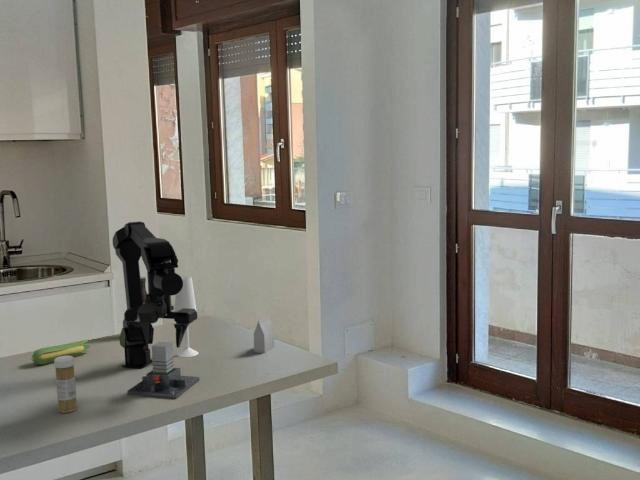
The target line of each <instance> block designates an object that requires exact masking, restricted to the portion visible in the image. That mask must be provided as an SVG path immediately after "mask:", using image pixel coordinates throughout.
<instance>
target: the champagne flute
mask: <svg viewBox="0 0 640 480" xmlns="http://www.w3.org/2000/svg"><path fill="white" fill-rule="evenodd" d="M180 277H181V278H182V281H183V287H182V289H181V291H180V292H179V293H178V294H176V295H174V297H175V298H174V312H177V311H179V310H181V309H183V308H187V309H195V310H196V312H197V313H198V311H197V310H198V309H197V303H196V295H195V291H194V282H193V277H192V276H189V275H187V276H185V275H184V276H180ZM189 336H190V333H189V326H188V327H187V329H186V331H185V334H184V341H185V342H184V343H185V344H184V345H185V347H184V349H183V348H182V350H180V351H178V352H177V354H176V356H177V357H180V358H190V357H195V356H198V355H199V352H198V351H197V350H195V349H193V348H191V347H190V337H189Z"/></svg>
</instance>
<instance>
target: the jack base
mask: <svg viewBox="0 0 640 480" xmlns="http://www.w3.org/2000/svg"><path fill="white" fill-rule="evenodd" d="M198 382H200V376H192V375H191V376H190V375H189V376H188V375H181V368H180V367H174V371H172V372H171V373H170V374H168V375H163V374H153V369H152V370H151V371H149V372H148V373H146V375H143V376H141V381H140V382H138V383H136V385H133V386H132V387H130V388H129V389H127V393H126V394H127V395H129V396H139V395H140V396H141V395H142V396H141V397H151V396H152V398H153V397H154V398H163V397H164V398H165V397H166V399H178V398H179V397H181V396H182V395H183V394H184V393H185V392H187V391H188V390H189V389H190V388H192V387H193V386H194V385H196V384H198Z"/></svg>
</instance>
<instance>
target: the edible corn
mask: <svg viewBox="0 0 640 480" xmlns="http://www.w3.org/2000/svg"><path fill="white" fill-rule="evenodd" d="M88 342H89V339H84V340H79V341H74V342H69V343H64V344H59V345H53V346H47V347H45V346H44V347H40V348H39V349H36V350H34V352H33V353H32V356H31V361H32V362H34V364H36V365H40V366H44V365H49V364H53V363H54V360H55V358H57V357H60V356H72V357H74V358H75V357H80V356H83V355H86V354H87V353H88V352H89V351H88V349H90V347H91V346H90V345H88V344H86V343H88Z"/></svg>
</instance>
